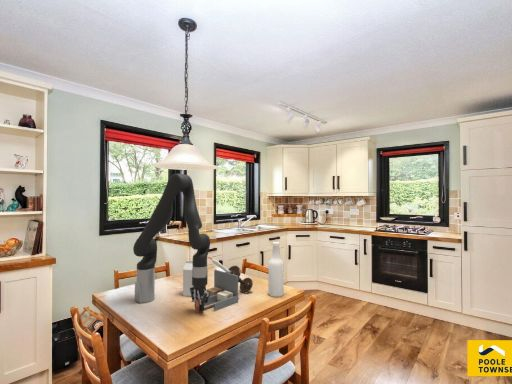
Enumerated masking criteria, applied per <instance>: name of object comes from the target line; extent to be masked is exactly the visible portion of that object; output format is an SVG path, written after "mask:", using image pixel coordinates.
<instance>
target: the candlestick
mask: <svg viewBox="0 0 512 384" xmlns="http://www.w3.org/2000/svg"><path fill="white" fill-rule="evenodd" d="M207 259H208V260H209V259H210V260H212V263H213V264H215V265H216V266H218V268H220V269H221V270H222V271H223V272H226V273H230V274H234V275H237V276H238V283H239V290H240V292H241V293H243V294H247V293H248V292H249V291H250V290H252V287H253V285H254V281H253V279H252V278H250V277H245V278H244V279H242V278H241V274H242V272H241V268H240V267H239V266H238V265H231V266H230V267H228V268H227V267H226V266H225V265H223V264H222V263H220V262H219V261H218V260H217V259H216V258H212V257H210V256H209V257H208V256H207Z"/></svg>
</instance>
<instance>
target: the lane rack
mask: <svg viewBox="0 0 512 384" xmlns="http://www.w3.org/2000/svg"><path fill="white" fill-rule="evenodd" d="M213 272H214V273H213V280H214V281H213V287H216V288H219V289H222V291H225V290H226V291H229V292H232V293H233V297H230V298H227V299H225V300H222V301H219V302H217V294H216V295H213V296H210V297H209V299H208V302H207V303H205V304H204V307H207V306H210V305H212V304H214V307H213V311H214V312H217V311H219V310H222V309H224V308H226V307H229V306H232V305H235V304H237V303H239V282H238V276H237V275H234V274H230V273H226V272H225V271H224V270H217V269H214V270H213ZM206 291H207V289H206ZM193 296H194V294H193ZM202 297H203V296H202ZM197 298H198V297H197ZM191 302H193V303H195V302H194V300H192V299H191Z"/></svg>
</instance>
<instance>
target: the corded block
mask: <svg viewBox="0 0 512 384" xmlns="http://www.w3.org/2000/svg"><path fill="white" fill-rule="evenodd" d="M230 297H233V293H232V292H229V291H226V290H225V291H222V292H219V293H217V302H219V301H222V300H225V299H227V298H230ZM202 300H203V299H202ZM199 306H200V302H199V299H196V310H195V313H197V314H200V313H202V312H200V311H199ZM211 308H214V303H212V304H209V305H206V306H204V311H205V310H209V309H211Z"/></svg>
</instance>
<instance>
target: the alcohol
mask: <svg viewBox="0 0 512 384" xmlns="http://www.w3.org/2000/svg"><path fill="white" fill-rule="evenodd" d="M280 250H281V249H280V242H279V241H273V242H272V251H271V252H272V254H271V258H270V259H269V260H268V266H267V267H268V272H267V274H268V281H267V282H268V285H267V287H268V289H267V290H268V291H267V292H268V295H269V296H270V297H274V298H279V297H282V296H283V295H284V292H285V291H284V288H285V287H284V284H285V280H284V277H285V275H284V272H285V269H284V268H285V267H284V261H283V259H282V258H281V251H280Z"/></svg>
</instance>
